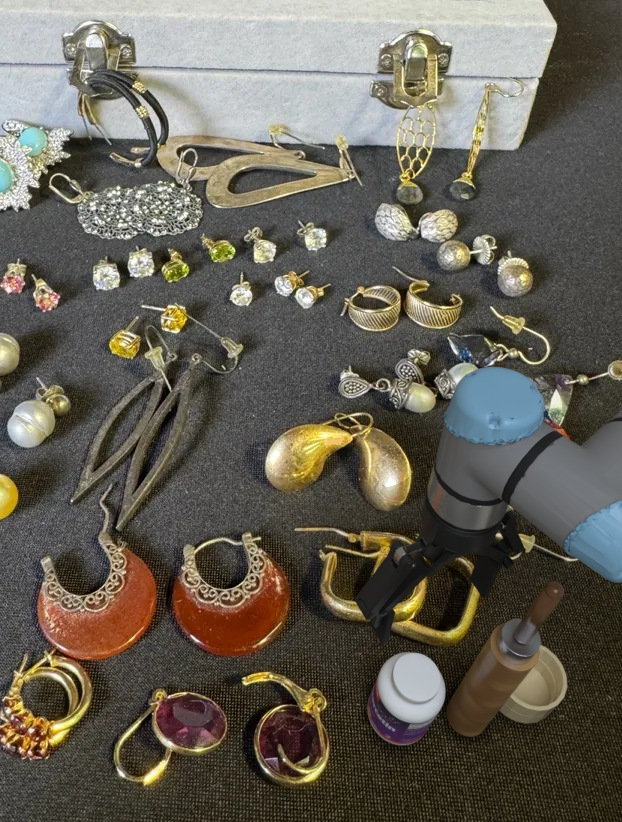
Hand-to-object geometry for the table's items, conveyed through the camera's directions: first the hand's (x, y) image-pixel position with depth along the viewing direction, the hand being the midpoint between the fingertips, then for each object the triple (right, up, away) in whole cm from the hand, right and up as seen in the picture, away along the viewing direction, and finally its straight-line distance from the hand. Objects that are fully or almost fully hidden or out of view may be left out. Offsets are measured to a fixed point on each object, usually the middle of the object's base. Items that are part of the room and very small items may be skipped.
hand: (429, 609), depth 92 cm
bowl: (+15, -15, +14) cm, 26 cm away
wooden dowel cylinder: (+7, -18, +12) cm, 22 cm away
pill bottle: (-1, -18, +12) cm, 21 cm away
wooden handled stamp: (+8, -2, -6) cm, 10 cm away
